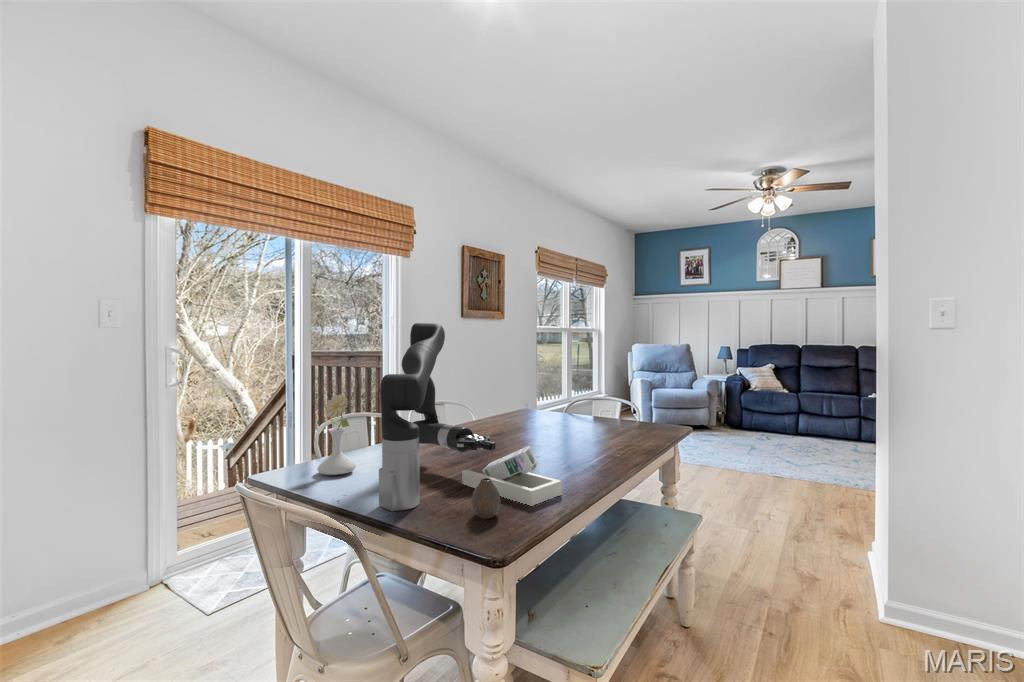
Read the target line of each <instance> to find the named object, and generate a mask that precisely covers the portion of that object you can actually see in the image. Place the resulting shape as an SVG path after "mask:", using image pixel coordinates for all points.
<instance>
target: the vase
mask: <svg viewBox="0 0 1024 682" xmlns="http://www.w3.org/2000/svg"><path fill="white" fill-rule="evenodd" d="M471 508H472V511H473V512H474V514H475V515H476V516H477V517H478V518H480V519H487V520H488V519H492V518H494V517H495V516H496V515H497V514H498V513H499V510H500V508H501V497H500V494H499V491H498V489H497V488H496V487H495V485H494V484H493V483H492V480H491V479H490V478H483V479H481V481H480V483H479V485H478V486H477V487H476V488H474V490H473V492H472V496H471Z"/></svg>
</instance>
